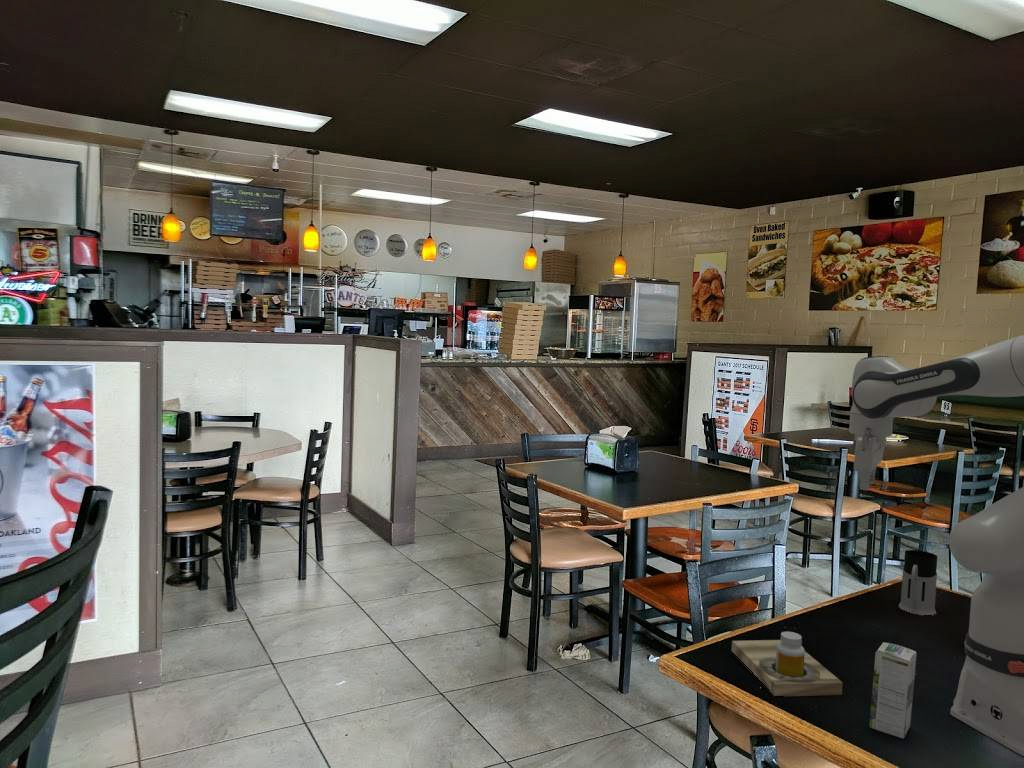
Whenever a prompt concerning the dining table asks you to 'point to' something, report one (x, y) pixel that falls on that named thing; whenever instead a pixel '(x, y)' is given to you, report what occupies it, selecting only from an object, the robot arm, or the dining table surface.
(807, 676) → the plate
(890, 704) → the syrup box
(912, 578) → the glass holder
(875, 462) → the robot arm
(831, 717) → the dining table surface
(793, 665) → the supplement bottle
